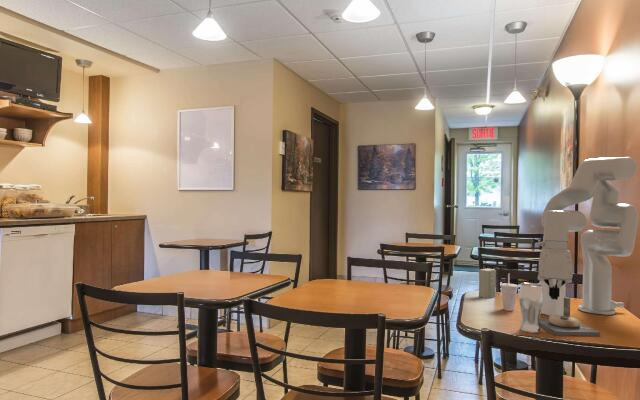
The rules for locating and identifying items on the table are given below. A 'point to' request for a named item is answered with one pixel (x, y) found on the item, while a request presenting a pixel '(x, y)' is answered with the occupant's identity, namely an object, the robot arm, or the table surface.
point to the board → (568, 329)
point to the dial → (565, 317)
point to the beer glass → (531, 306)
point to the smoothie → (509, 294)
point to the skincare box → (487, 283)
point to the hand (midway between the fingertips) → (554, 298)
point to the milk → (553, 300)
